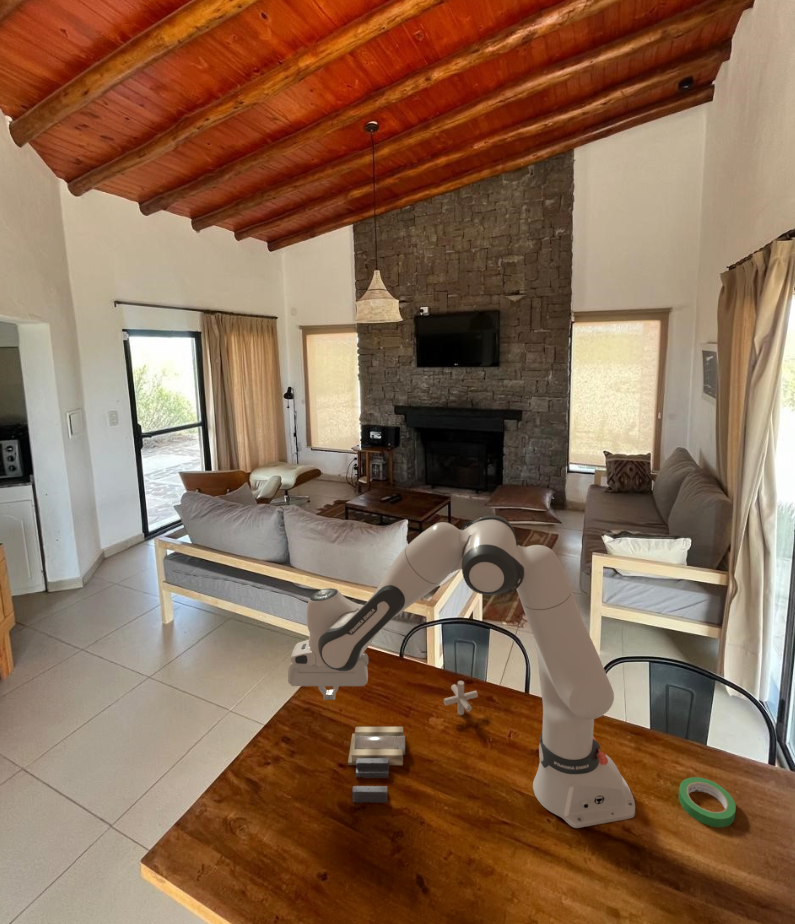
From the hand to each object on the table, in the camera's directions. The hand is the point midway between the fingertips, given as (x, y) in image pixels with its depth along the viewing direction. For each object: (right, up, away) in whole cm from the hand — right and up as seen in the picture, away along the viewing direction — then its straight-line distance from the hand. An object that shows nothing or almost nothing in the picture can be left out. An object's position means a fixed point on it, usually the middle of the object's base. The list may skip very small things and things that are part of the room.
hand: (329, 698), depth 133 cm
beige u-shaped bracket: (+13, -15, +3) cm, 20 cm away
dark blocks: (+11, -18, -8) cm, 22 cm away
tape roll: (+88, -18, -15) cm, 91 cm away
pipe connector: (+36, -12, +16) cm, 41 cm away
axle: (+13, -13, +2) cm, 19 cm away
